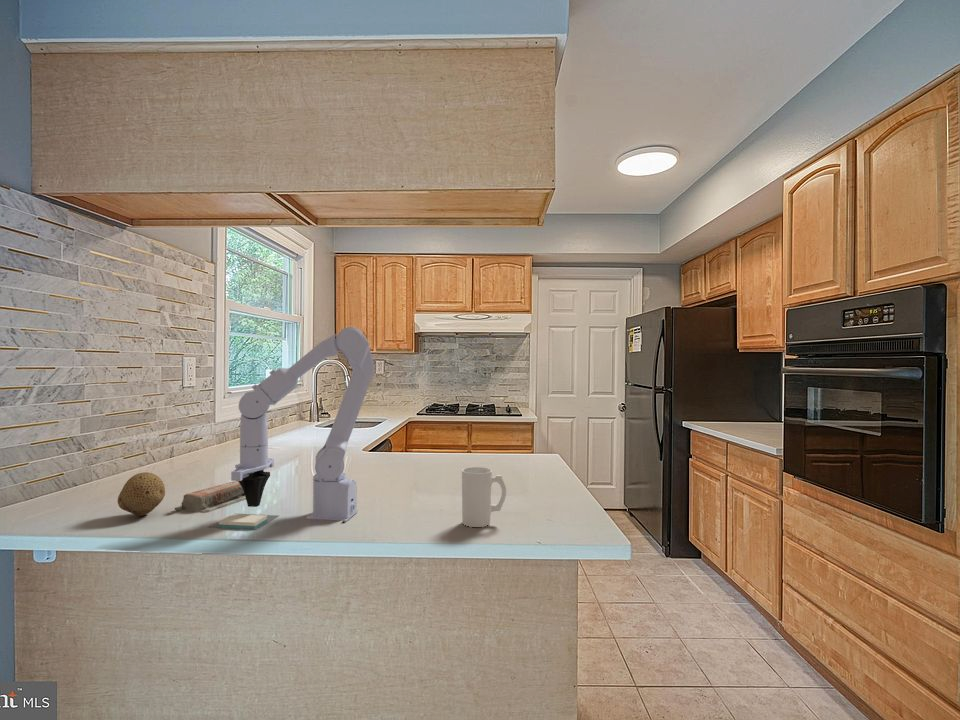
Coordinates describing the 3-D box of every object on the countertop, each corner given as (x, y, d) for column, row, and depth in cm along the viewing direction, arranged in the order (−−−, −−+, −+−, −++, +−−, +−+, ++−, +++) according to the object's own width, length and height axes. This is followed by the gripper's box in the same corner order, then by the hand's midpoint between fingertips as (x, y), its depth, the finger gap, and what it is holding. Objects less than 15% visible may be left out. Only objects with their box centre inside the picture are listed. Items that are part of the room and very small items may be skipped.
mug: (461, 528, 114) (461, 473, 114) (461, 519, 121) (461, 466, 121) (507, 528, 115) (507, 473, 115) (504, 518, 122) (505, 467, 122)
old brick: (206, 496, 122) (174, 492, 125) (206, 517, 122) (174, 513, 125) (262, 479, 139) (232, 476, 142) (262, 498, 139) (232, 494, 142)
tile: (267, 515, 116) (254, 522, 111) (267, 521, 116) (254, 529, 111) (232, 513, 117) (219, 520, 112) (232, 520, 117) (219, 527, 112)
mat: (279, 518, 120) (279, 515, 120) (256, 532, 110) (256, 529, 110) (234, 516, 122) (234, 513, 122) (207, 530, 112) (207, 527, 112)
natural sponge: (171, 515, 121) (172, 472, 121) (127, 524, 115) (127, 479, 114) (157, 508, 127) (157, 466, 127) (113, 516, 120) (114, 472, 120)
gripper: (254, 439, 125) (253, 496, 125) (217, 450, 111) (217, 514, 111) (282, 440, 124) (282, 497, 124) (249, 451, 110) (249, 516, 110)
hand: (253, 505), depth 117 cm, fingers closed
